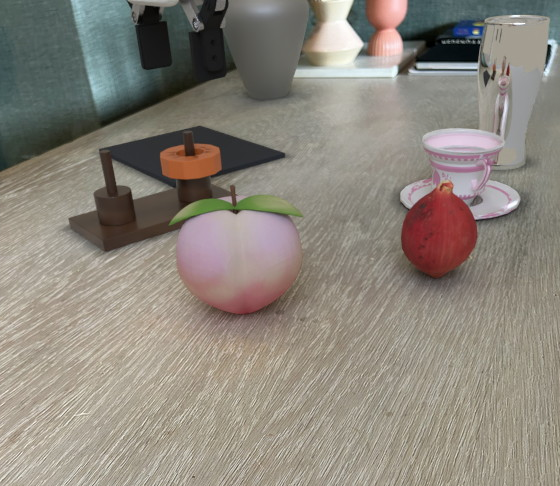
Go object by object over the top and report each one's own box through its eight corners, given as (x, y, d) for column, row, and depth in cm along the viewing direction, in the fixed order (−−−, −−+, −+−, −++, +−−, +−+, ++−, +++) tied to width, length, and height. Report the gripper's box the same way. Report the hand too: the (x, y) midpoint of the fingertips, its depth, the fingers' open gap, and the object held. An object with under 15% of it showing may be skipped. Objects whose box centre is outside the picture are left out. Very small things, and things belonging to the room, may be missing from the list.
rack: (70, 229, 68) (52, 150, 63) (204, 190, 75) (196, 118, 71) (105, 252, 62) (87, 169, 58) (245, 208, 70) (239, 131, 66)
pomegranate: (417, 298, 52) (425, 198, 47) (387, 268, 57) (391, 174, 52) (484, 286, 53) (498, 187, 49) (449, 257, 58) (459, 164, 53)
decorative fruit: (294, 281, 55) (290, 160, 50) (312, 331, 49) (309, 197, 43) (181, 294, 55) (163, 171, 49) (183, 345, 48) (163, 211, 42)
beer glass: (505, 175, 75) (526, 25, 66) (454, 163, 79) (468, 20, 71) (541, 161, 78) (565, 16, 70) (490, 150, 83) (508, 13, 74)
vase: (208, 100, 113) (190, -78, 99) (261, 84, 122) (252, -81, 108) (276, 109, 106) (267, -83, 92) (327, 91, 115) (326, -86, 101)
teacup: (379, 192, 72) (381, 133, 69) (476, 175, 75) (483, 118, 72) (436, 231, 63) (442, 164, 59) (545, 210, 66) (556, 146, 62)
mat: (99, 153, 90) (98, 148, 89) (200, 129, 98) (200, 125, 97) (175, 188, 76) (174, 183, 76) (285, 157, 84) (285, 152, 84)
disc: (152, 170, 69) (149, 152, 68) (201, 157, 72) (199, 140, 71) (182, 183, 65) (179, 165, 64) (232, 169, 68) (231, 151, 67)
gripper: (66, -144, 58) (106, 70, 67) (166, -171, 46) (197, 92, 56) (143, -145, 62) (171, 58, 71) (253, -170, 50) (269, 77, 59)
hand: (182, 73), depth 63 cm, fingers open, 9 cm apart
